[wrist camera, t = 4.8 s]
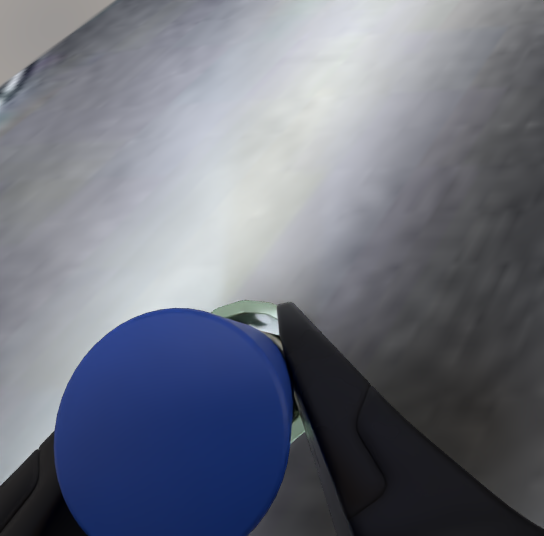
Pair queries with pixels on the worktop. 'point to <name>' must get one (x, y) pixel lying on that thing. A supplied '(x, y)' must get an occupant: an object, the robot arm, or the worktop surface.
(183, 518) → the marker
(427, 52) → the worktop surface
